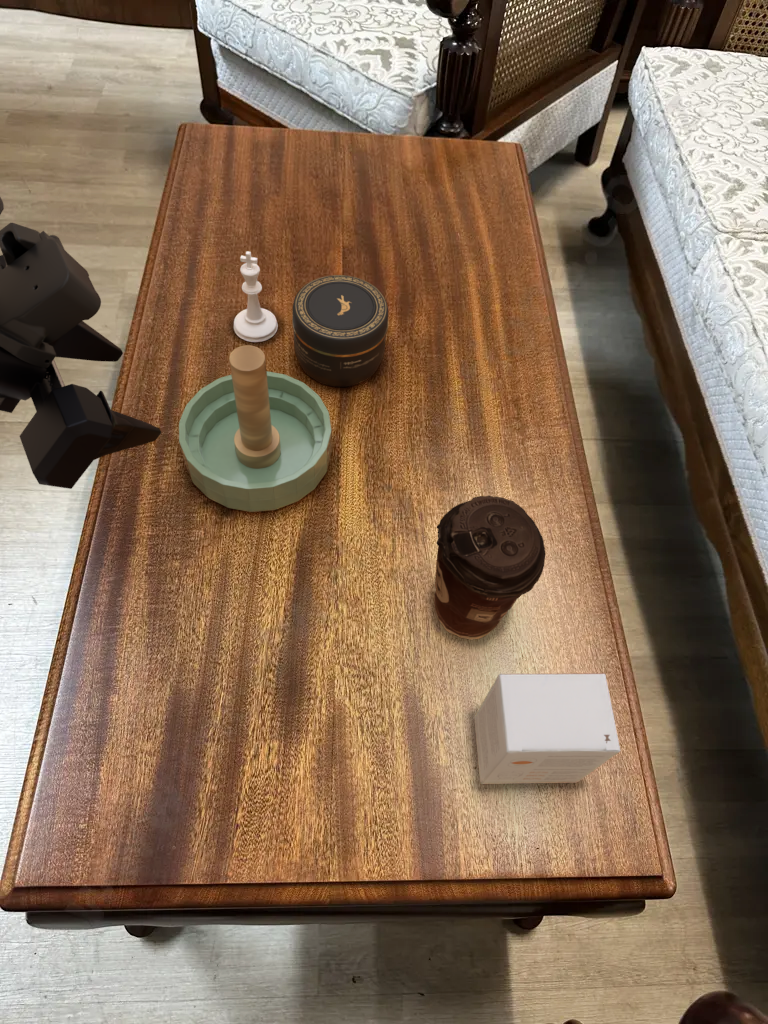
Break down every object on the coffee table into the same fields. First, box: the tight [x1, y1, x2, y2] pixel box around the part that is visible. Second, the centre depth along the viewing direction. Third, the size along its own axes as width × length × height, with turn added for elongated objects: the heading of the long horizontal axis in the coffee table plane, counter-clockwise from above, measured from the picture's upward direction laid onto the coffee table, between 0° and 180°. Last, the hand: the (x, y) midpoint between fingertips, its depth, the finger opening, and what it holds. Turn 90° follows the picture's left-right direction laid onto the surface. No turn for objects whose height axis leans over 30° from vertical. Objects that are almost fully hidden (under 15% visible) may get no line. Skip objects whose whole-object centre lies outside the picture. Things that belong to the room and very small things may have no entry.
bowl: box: [178, 370, 332, 513], centre depth 70 cm, size 14×14×4 cm
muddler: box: [228, 344, 281, 469], centre depth 66 cm, size 4×4×13 cm
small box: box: [473, 672, 621, 785], centre depth 54 cm, size 8×6×10 cm
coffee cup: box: [433, 495, 546, 640], centre depth 59 cm, size 9×8×13 cm
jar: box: [291, 274, 389, 388], centre depth 77 cm, size 10×10×8 cm
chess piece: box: [233, 250, 279, 343], centre depth 77 cm, size 5×5×10 cm
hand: (138, 394), depth 58 cm, fingers open, 9 cm apart
